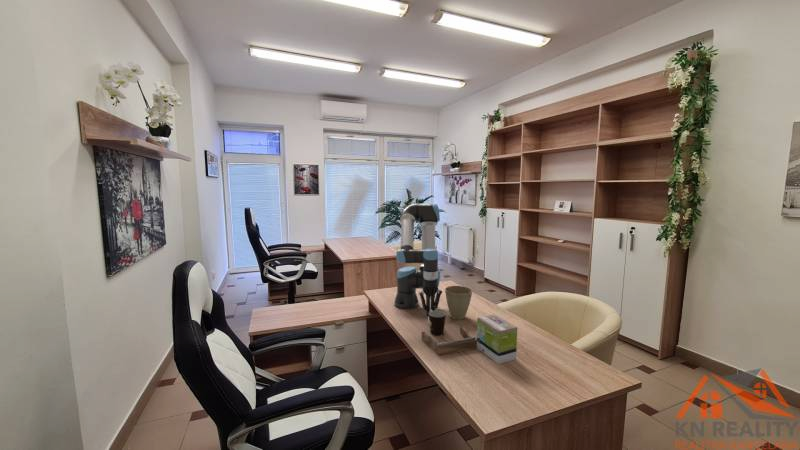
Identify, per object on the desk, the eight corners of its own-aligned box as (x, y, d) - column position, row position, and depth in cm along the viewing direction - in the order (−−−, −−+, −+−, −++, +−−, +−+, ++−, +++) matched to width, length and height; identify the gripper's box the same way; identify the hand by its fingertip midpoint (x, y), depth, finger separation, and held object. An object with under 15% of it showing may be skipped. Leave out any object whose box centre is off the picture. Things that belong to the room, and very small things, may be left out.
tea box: (475, 348, 144) (476, 316, 142) (493, 344, 148) (494, 313, 146) (498, 365, 130) (499, 330, 128) (517, 359, 134) (518, 326, 132)
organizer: (421, 340, 151) (421, 330, 151) (462, 333, 158) (462, 324, 158) (435, 356, 137) (435, 345, 136) (479, 348, 144) (479, 338, 143)
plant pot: (452, 324, 169) (453, 295, 167) (440, 313, 183) (440, 287, 181) (476, 320, 174) (477, 292, 172) (462, 310, 188) (463, 284, 186)
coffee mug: (445, 337, 154) (445, 317, 153) (427, 336, 156) (427, 316, 155) (446, 327, 165) (446, 308, 164) (429, 326, 167) (430, 307, 166)
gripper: (421, 281, 160) (421, 326, 163) (444, 279, 164) (444, 323, 167) (416, 277, 167) (416, 320, 170) (438, 275, 171) (438, 317, 174)
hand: (430, 321), depth 168 cm, fingers closed
